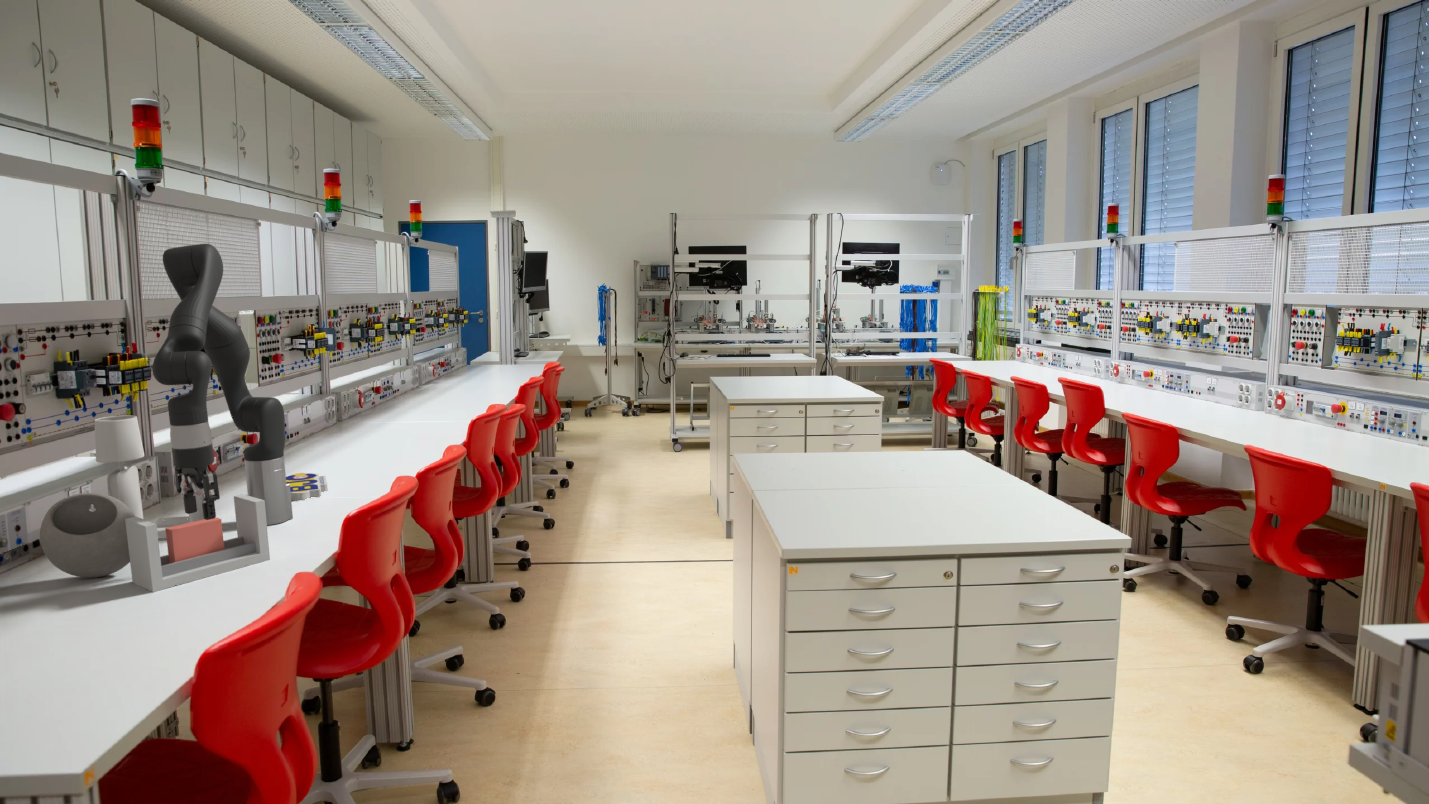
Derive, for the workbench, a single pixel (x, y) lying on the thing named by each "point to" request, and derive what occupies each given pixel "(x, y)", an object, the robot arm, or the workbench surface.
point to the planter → (86, 535)
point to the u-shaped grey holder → (236, 554)
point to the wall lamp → (121, 444)
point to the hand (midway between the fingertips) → (200, 515)
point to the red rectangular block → (194, 539)
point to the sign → (306, 485)
